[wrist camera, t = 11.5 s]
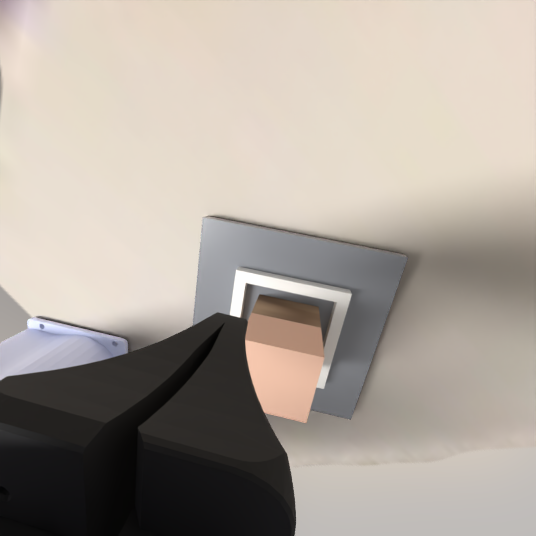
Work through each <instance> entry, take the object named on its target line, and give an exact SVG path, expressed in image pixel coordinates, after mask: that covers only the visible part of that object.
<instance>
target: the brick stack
mask: <svg viewBox="0 0 536 536" xmlns="http://www.w3.org/2000/svg"><path fill="white" fill-rule="evenodd" d="M245 345H246V355H247V361H248V367H249V371H250V375H251V379H252V382H253V385H254V388H255V391H256V394H257V397H258V399H259V401H260V404H261V406H262V409H263V411H264V413H267V414H271V415H275V416H279V417H283V418H287V419H291V420H295V421H299V422H303V423H306V422H307V419H308V415H309V412H310V408H311V404H312V401H313V397H314V394H315V390H316V386H317V383H318V379H319V376H320V372H321V369H322V365H323V361H324V349H323V340H322V332H321V323H320V314H319V307H317V306H312V305H308V304H303V303H298V302H293V301H289V300H284V299H279V298H275V297H270V296H265V295H260V294H259V296H258V299H257V301H256V303H255V306H254V308H253V310H252V313H251V315H250V317H249V320H248V326H247V331H246V336H245Z"/></svg>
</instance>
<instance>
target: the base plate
mask: <svg viewBox="0 0 536 536" xmlns="http://www.w3.org/2000/svg"><path fill="white" fill-rule="evenodd" d="M407 259H408V257H407V256H405V255H404V254H401V253H396V252H391V251H385V250H380V249H375V248H370V247H365V246H360V245H355V244H350V243H344V242H339V241H334V240H329V239H324V238H319V237H314V236H308V235H303V234H298V233H293V232H288V231H283V230H278V229H273V228H267V227H262V226H257V225H252V224H247V223H242V222H237V221H232V220H226V219H221V218H216V217H211V216H206V217H203V221H202V232H201V242H200V253H199V264H198V275H197V285H196V296H195V307H194V318H193V325H195V324H197V323H199V322H201V321H203V320H204V319H206V318H208V317H210V316H211V315H213V314H215V313H217V312H219V313H223V314H227V315H231V316H236V317H240V318H244V319H246V320H247V321H248V320H249V317H250V315H251V313H252V310H253V308H254V306H255V303H256V301H257V299H258V296H259V294H260V295H265V296H270V297H275V298H279V299H284V300H289V301H293V302H298V303H303V304H308V305H312V306H317V307H319V314H320V323H321V332H322V340H323V349H324V361H323V365H322V369H321V372H320V376H319V379H318V383H317V386H316V390H315V394H314V397H313V401H312V404H311V408H310V410H313V411H317V412H322V413H326V414H330V415H334V416H338V417H342V418H346V419H350V420H351V418H352V415H353V412H354V409H355V406H356V404H357V401H358V398H359V395H360V392H361V389H362V387H363V384H364V381H365V378H366V375H367V373H368V370H369V367H370V364H371V361H372V358H373V356H374V353H375V350H376V347H377V344H378V341H379V339H380V336H381V333H382V330H383V327H384V324H385V322H386V319H387V316H388V313H389V310H390V307H391V305H392V302H393V299H394V296H395V293H396V290H397V288H398V285H399V282H400V279H401V276H402V274H403V271H404V268H405V265H406V262H407Z"/></svg>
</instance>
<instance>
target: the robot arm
mask: <svg viewBox="0 0 536 536" xmlns="http://www.w3.org/2000/svg"><path fill="white" fill-rule="evenodd" d="M27 324H28V329H26V330H24V331H22V332H20V333H18V334H16V335H14V336H12V337H10V338H8V339H6V340H5V341H3V342H0V536H294V535H295V528H296V510H295V498H294V490H293V483H292V477H291V471H290V466H289V461H288V456H287V453H286V452H285V450H284V448H283V447H282V445H281V444H280V442H279V440H278V438H277V437H276V435H275V433H274V431H273V430H272V428H271V426H270V424H269V422H268V420H267V418H266V416H265V413H264V411H263V409H262V406H261V404H260V401H259V399H258V397H257V394H256V391H255V388H254V385H253V382H252V379H251V375H250V371H249V367H248V361H247V355H246V345H245V336H246V331H247V326H248V321H247V320H246V319H244V318H240V317H236V316H231V315H227V314H223V313H219V312H217V313H215V314H213V315H211V316H210V317H208V318H206V319H204V320H203V321H201V322H199V323H197V324H195V325H193V326H192V327H190V328H188V329H186V330H184V331H182V332H180V333H178V334H176V335H173V336H171V337H169V338H167V339H165V340H163V341H160V342H158V343H155V344H153V345H150V346H147V347H145V348H142V349H139V350H136V351H133V352H130V353H128V342H127V340H125V339H123V338H120V337H116V336H111V335H107V334H103V333H99V332H95V331H90V330H86V329H82V328H78V327H74V326H69V325H65V324H61V323H57V322H53V321H48V320H44V319H40V318H36V317H33V318H30V319H28V322H27ZM116 342H117V343H116Z"/></svg>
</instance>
